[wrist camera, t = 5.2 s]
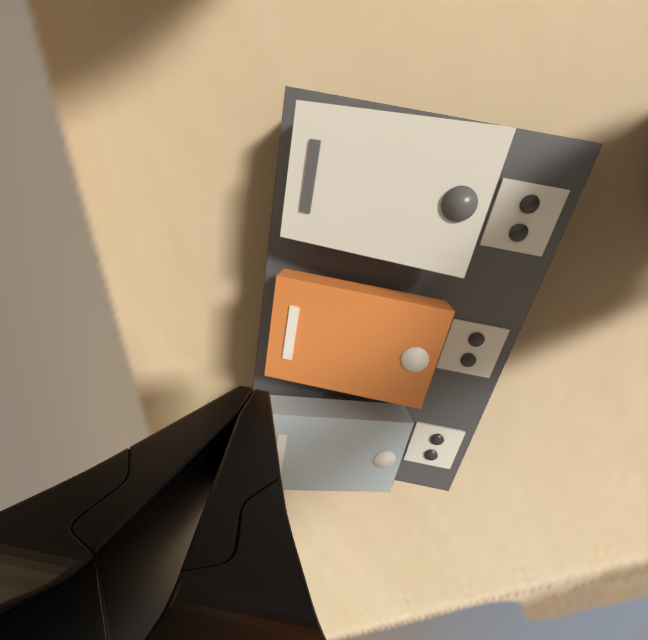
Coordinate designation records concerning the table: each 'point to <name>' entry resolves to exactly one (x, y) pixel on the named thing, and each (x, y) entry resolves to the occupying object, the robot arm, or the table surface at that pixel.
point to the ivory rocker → (391, 184)
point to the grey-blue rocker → (339, 443)
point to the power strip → (447, 284)
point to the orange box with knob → (355, 337)
